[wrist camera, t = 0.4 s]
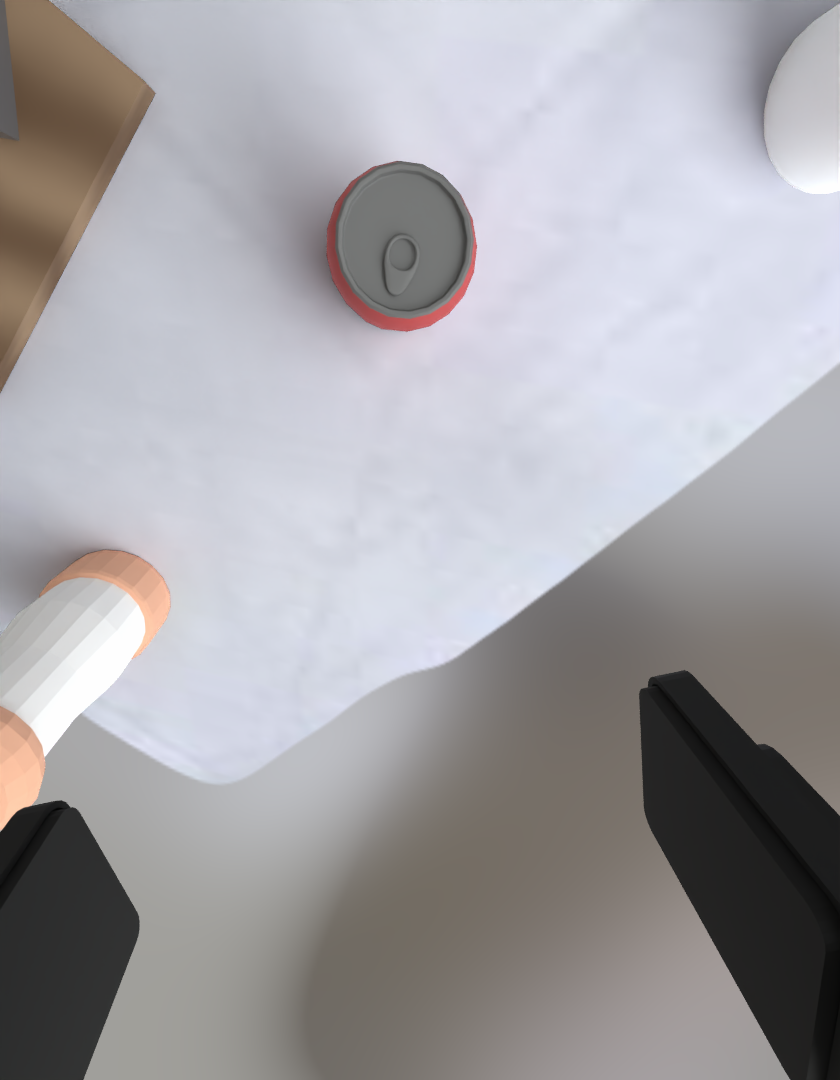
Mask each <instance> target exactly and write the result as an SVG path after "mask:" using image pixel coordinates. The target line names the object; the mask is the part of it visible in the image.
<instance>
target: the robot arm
mask: <svg viewBox="0 0 840 1080" xmlns="http://www.w3.org/2000/svg"><path fill="white" fill-rule="evenodd" d="M639 699H640V724H641V749H642V773H643V796H644V811H645V815H646V818H647V821H648V824H649V826H650V828H651V831H652V833H653V834H654V836H655V838H656V840H657V841H658V843H659V845H660V847H661V849H662V851H663V852H664V854H665V856H666V858H667V860H668V861H669V863H670V865H671V867H672V869H673V870H674V872H675V874H676V875H677V878H678V879H679V881H680V883H681V885H682V887H683V888H684V890H685V892H686V894H687V896H688V897H689V899H690V901H691V903H692V905H693V906H694V908H695V910H696V912H697V913H698V915H699V917H700V919H701V921H702V923H703V924H704V926H705V928H706V929H707V931H708V933H709V935H710V937H711V939H712V941H713V942H714V944H715V946H716V948H717V950H718V951H719V953H720V955H721V957H722V959H723V960H724V962H725V964H726V966H727V968H728V969H729V971H730V973H731V975H732V977H733V978H734V980H735V982H736V984H737V986H738V987H739V989H740V991H741V993H742V995H743V996H744V998H745V1000H746V1002H747V1004H748V1005H749V1007H750V1009H751V1011H752V1013H753V1014H754V1016H755V1018H756V1020H757V1022H758V1023H759V1025H760V1027H761V1029H762V1030H763V1032H764V1034H765V1036H766V1038H767V1040H768V1041H769V1043H770V1045H771V1047H772V1049H773V1050H774V1052H775V1054H776V1056H777V1058H778V1059H779V1061H780V1063H781V1065H782V1067H783V1068H784V1070H785V1072H786V1073H787V1075H788V1077H789V1078H790V1080H840V816H839V815H838V814H837V813H836V811H835V810H834V809H833V808H832V807H831V806H830V805H829V804H828V803H827V802H826V801H825V800H824V799H823V798H822V797H821V796H820V795H819V794H818V793H817V792H816V791H815V790H814V789H813V788H812V786H811V785H810V784H808V783H807V781H806V780H805V779H804V778H803V777H802V776H801V775H800V774H799V773H798V772H797V771H796V770H795V769H794V768H793V767H792V766H791V765H790V763H789V762H788V761H787V760H786V759H785V758H784V757H783V756H782V755H781V754H779V753H778V752H777V751H776V750H775V749H774V748H772V747H770V746H768V745H766V744H759V745H757V744H756V743H755V742H754V741H753V740H752V739H751V738H750V737H749V736H748V735H747V734H746V733H745V731H744V730H743V729H742V728H741V727H740V726H739V725H738V724H737V723H736V722H735V721H734V720H733V718H732V717H731V716H730V715H729V714H728V713H727V712H726V711H725V710H724V709H723V708H722V707H721V706H720V704H719V703H718V702H717V701H716V700H715V699H714V698H713V697H712V696H711V695H710V694H709V692H708V691H707V690H706V689H705V688H704V687H703V686H702V685H701V684H700V683H699V682H698V681H697V679H696V678H695V677H694V676H693V675H692V674H690V673H689V672H688V671H685V670H684V671H679V672H674V673H669V674H665V675H659V676H655V677H651V678H650V679H649V682H648V688H643V689H641V690H640V693H639ZM138 934H139V916H138V913H137V911H136V910H135V908H134V906H133V904H132V902H131V901H130V899H129V897H128V896H127V894H126V892H125V890H124V889H123V887H122V885H121V883H120V882H119V880H118V878H117V876H116V875H115V873H114V871H113V870H112V868H111V866H110V864H109V863H108V861H107V859H106V857H105V856H104V854H103V852H102V850H101V849H100V847H99V845H98V843H97V842H96V840H95V838H94V837H93V835H92V833H91V831H90V830H89V828H88V826H87V824H86V823H85V821H84V819H83V817H82V816H81V814H80V813H79V811H78V810H77V809H76V808H73V807H72V808H70V806H69V805H68V804H67V803H66V802H64V801H53V802H48V803H43V804H39V805H34V806H29V807H24V808H22V809H20V810H18V811H17V812H16V813H15V814H14V815H13V816H12V817H11V818H10V820H9V821H8V823H7V824H6V825H5V827H4V828H3V829H2V831H1V832H0V1080H83V1079H84V1076H85V1074H86V1071H87V1069H88V1066H89V1064H90V1061H91V1058H92V1056H93V1053H94V1050H95V1048H96V1045H97V1043H98V1040H99V1037H100V1035H101V1032H102V1030H103V1027H104V1024H105V1022H106V1019H107V1017H108V1014H109V1011H110V1009H111V1006H112V1003H113V1001H114V998H115V996H116V993H117V991H118V988H119V985H120V983H121V980H122V977H123V975H124V972H125V970H126V967H127V965H128V962H129V959H130V957H131V954H132V952H133V949H134V946H135V944H136V941H137V938H138Z"/></svg>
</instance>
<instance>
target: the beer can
mask: <svg viewBox="0 0 840 1080" xmlns="http://www.w3.org/2000/svg"><path fill="white" fill-rule="evenodd" d="M476 249H477V245H476V238H475V232H474V226H473V220H472V217H471V215H470V213H469V211H468V209H467V207H466V205H465V203H464V200H463V198H462V196H461V195H460V193H459V192H458V191H457V190H456V189H455V188H454V187H453V186H452V185H451V183H450V182H449V181H448V180H447V179H446V178H445V177H444V176H443V175H441V174H440V173H438V172H436V171H434V170H432V169H430V168H428V167H427V166H425V165H423V164H417V163H410V162H402V161H395V162H391V163H387V164H383V165H379V166H375V167H372V168H370V169H369V170H368V171H366V172H365V173H363V174H362V175H360V176H359V177H357V178H356V179H354V180H353V181H352V182H351V183H350V184H349V185H348V187H347V188H346V190H345V191H344V192H343V194H342V195H341V196H340V198H339V199H338V201H337V202H336V204H335V207H334V210H333V213H332V216H331V219H330V222H329V225H328V228H327V259H328V263H329V267H330V271H331V275H332V279H333V282H334V283H335V285H336V287H337V289H338V290H339V292H340V294H341V295H342V297H343V299H344V300H345V302H346V303H347V304H348V305H349V306H350V307H351V308H352V309H353V310H354V311H355V312H356V313H357V314H358V315H359V316H361V317H362V318H363V319H364V320H365V321H366V322H368V323H370V324H372V325H375V326H377V327H379V328H381V329H387V330H397V331H407V332H408V331H412V330H416V329H420V328H424V327H428V326H431V325H432V324H434V323H435V322H437V321H438V320H440V319H442V318H443V317H445V316H446V315H448V314H449V313H450V312H451V311H452V309H453V308H454V307H455V306H456V305H457V303H458V302H459V301H460V300H461V299H462V297H463V296H464V294H465V292H466V290H467V287H468V285H469V283H470V280H471V278H472V275H473V273H474V266H475V258H476Z"/></svg>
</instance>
